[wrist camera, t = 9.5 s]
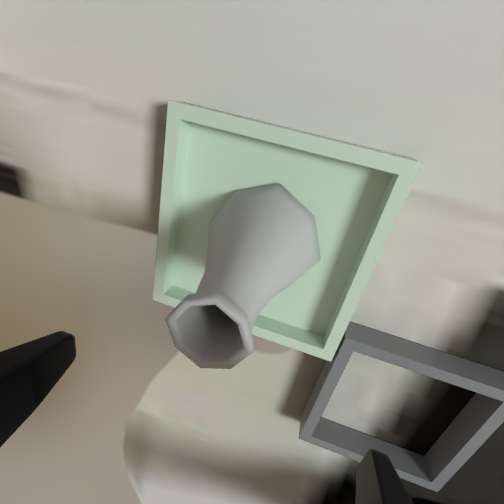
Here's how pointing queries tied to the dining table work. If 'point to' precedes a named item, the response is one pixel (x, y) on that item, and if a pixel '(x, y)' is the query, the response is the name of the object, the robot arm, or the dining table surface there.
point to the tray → (303, 189)
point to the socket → (424, 362)
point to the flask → (243, 273)
